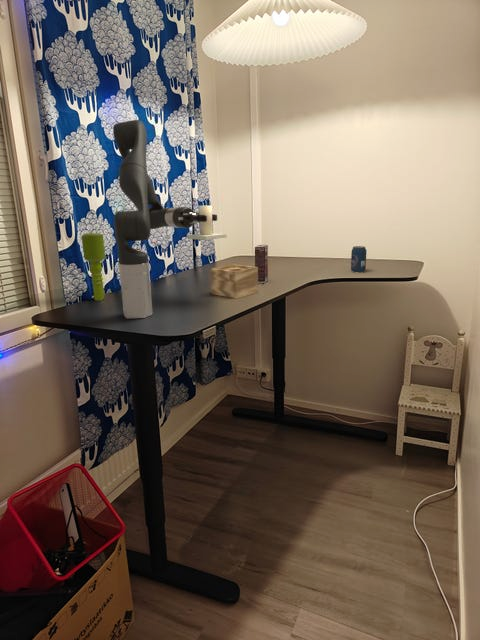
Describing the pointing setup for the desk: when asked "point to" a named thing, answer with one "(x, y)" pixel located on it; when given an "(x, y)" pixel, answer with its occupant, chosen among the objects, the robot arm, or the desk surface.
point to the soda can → (358, 259)
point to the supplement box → (262, 262)
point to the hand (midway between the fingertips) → (211, 218)
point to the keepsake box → (234, 280)
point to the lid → (206, 226)
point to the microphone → (95, 260)
